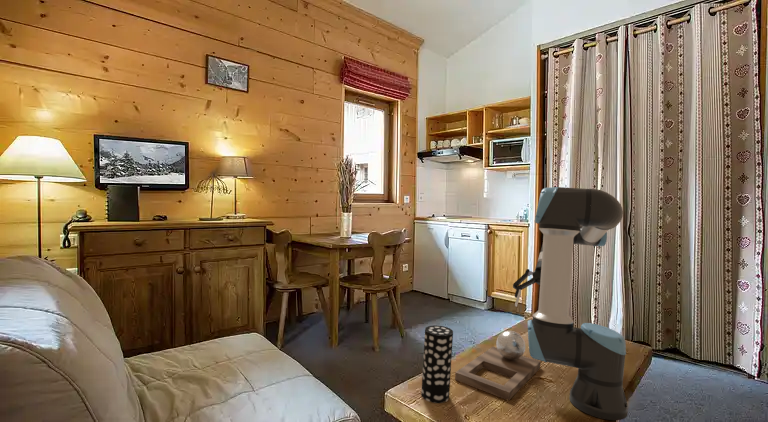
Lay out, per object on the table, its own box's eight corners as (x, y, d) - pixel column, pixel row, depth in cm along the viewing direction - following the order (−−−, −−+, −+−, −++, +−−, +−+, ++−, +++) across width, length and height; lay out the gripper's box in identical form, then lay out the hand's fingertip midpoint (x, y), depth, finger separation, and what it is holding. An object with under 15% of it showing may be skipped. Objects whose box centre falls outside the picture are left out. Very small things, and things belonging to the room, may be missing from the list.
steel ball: (529, 364, 133) (531, 336, 133) (502, 364, 132) (504, 336, 132) (516, 352, 143) (518, 326, 143) (491, 352, 142) (492, 326, 142)
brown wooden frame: (492, 352, 148) (492, 346, 148) (540, 368, 137) (540, 361, 137) (455, 379, 125) (455, 372, 125) (508, 400, 114) (509, 392, 114)
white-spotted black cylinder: (430, 385, 120) (434, 323, 119) (454, 395, 115) (458, 330, 114) (415, 395, 114) (419, 330, 113) (439, 406, 109) (444, 337, 108)
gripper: (578, 277, 155) (567, 325, 146) (516, 260, 167) (501, 304, 158) (580, 269, 149) (569, 318, 140) (516, 252, 161) (501, 297, 152)
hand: (533, 311), depth 149 cm, fingers open, 13 cm apart
